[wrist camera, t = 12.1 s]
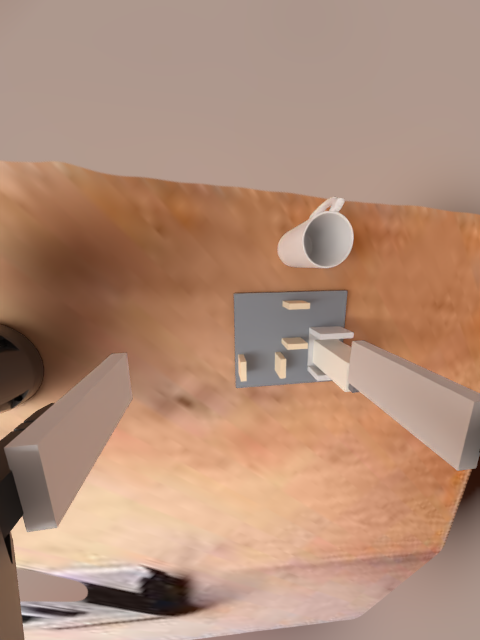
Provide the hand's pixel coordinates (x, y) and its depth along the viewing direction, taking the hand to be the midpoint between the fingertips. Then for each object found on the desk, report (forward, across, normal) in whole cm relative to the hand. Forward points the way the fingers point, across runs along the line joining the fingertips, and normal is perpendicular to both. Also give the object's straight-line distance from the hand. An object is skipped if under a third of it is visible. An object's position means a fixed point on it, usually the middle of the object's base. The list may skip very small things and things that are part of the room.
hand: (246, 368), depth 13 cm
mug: (+28, +14, +10) cm, 33 cm away
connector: (+27, +20, -10) cm, 34 cm away
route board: (+28, +13, -8) cm, 32 cm away
